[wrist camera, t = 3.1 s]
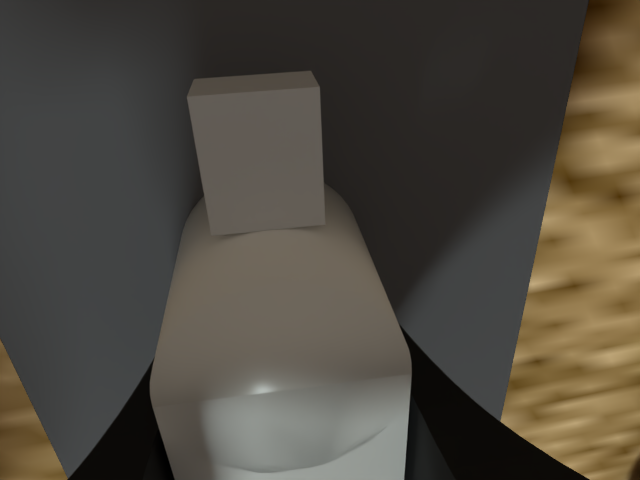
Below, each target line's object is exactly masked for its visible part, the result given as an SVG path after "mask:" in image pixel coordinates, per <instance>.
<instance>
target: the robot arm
mask: <svg viewBox="0 0 640 480" xmlns="http://www.w3.org/2000/svg"><path fill="white" fill-rule="evenodd" d="M398 324H399V323H398ZM399 326H400V329H401V331H402V333H403V336H404V338H405V341H406V343H407V346H408V348H409V352H410V357H411V363H412V376H411V390H410V404H409V418H408V432H407V446H406V460H405V474H404V480H589V479H588V478H586V477H584V476H583V475H581V474H579V473H577V472H576V471H574V470H572V469H570V468H569V467H567V466H565V465H563V464H562V463H560V462H559V461H557V460H555V459H554V458H552V457H551V456H549V455H548V454H546V453H545V452H543V451H542V450H540V449H539V448H537V447H535V446H534V445H532V444H531V443H529V442H528V441H526V440H525V439H523V438H522V437H520V436H519V435H518V434H516V433H515V432H513V431H512V430H511V429H509V428H508V427H507V426H505V425H504V424H503V423H501V422H500V421H499V420H497V419H496V418H495V417H494V416H492V415H491V414H490V413H489V412H487V411H486V410H485V409H484V408H482V407H481V406H480V405H479V404H478V403H477V402H475V401H474V400H473V399H472V398H471V397H470V396H469V395H467V394H466V393H465V392H464V391H463V390H462V389H461V388H460V387H459V386H457V385H456V384H455V383H454V382H453V381H452V380H451V379H450V378H449V377H448V376H447V375H446V374H445V373H444V372H443V371H442V370H441V369H440V368H439V367H438V366H437V365H436V364H435V363H434V362H433V361H432V360H431V359H430V358H429V357H428V356H427V355H426V354H425V352H424V351H423V350H422V349H421V348H420V347H419V346H418V345H417V344H416V343H415V341H414V340H413V339H412V338H411V337H410V336H409V335H408V333H407V332H406V331H405V330H404V329H403V328H402V326H401V325H400V324H399ZM154 358H155V357H154ZM153 362H154V359H153V361H152V362H151V364H150V366H149V367H148V369H147V371H146V372H145V374H144V376H143V377H142V379H141V381H140V382H139V384H138V385H137V387H136V389H135V390H134V392H133V393H132V395H131V396H130V398H129V399H128V401H127V402H126V404H125V405H124V407H123V408H122V410H121V411H120V413H119V414H118V416H117V417H116V418H115V420H114V421H113V422H112V424H111V425H110V427H109V428H108V429H107V431H106V432H105V433H104V435H103V436H102V437H101V439H100V440H99V441H98V443H97V444H96V445H95V447H94V448H93V449H92V451H91V452H90V453H89V454H88V456H87V457H86V458H85V459H84V461H83V462H82V463H81V464H80V465H79V467H78V468H77V469H76V470H75V471H74V472H73V474H72V475H71V476H70V477H69V478H68V479H67V480H175V479H174V476H173V472H172V469H171V466H170V463H169V459H168V456H167V453H166V450H165V446H164V443H163V440H162V437H161V433H160V430H159V427H158V424H157V420H156V417H155V414H154V411H153V407H152V402H151V398H150V378H151V372H152V367H153Z"/></svg>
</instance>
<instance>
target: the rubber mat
mask: <svg viewBox="0 0 640 480" xmlns="http://www.w3.org/2000/svg"><path fill="white" fill-rule="evenodd" d="M588 2H589V0H0V339H1V341H2V343H3V345H4V347H5V349H6V351H7V353H8V355H9V357H10V359H11V361H12V363H13V366H14V368H15V370H16V372H17V374H18V376H19V378H20V380H21V382H22V384H23V386H24V388H25V390H26V392H27V395H28V397H29V399H30V401H31V403H32V405H33V407H34V409H35V411H36V413H37V415H38V417H39V419H40V421H41V424H42V426H43V428H44V430H45V432H46V434H47V436H48V438H49V440H50V442H51V444H52V446H53V448H54V450H55V453H56V455H57V457H58V459H59V461H60V463H61V465H62V467H63V469H64V471H65V473H66V475H67V477H68V478H69V477H70V476H71V475H72V474H73V472H74V471H75V470H76V469H77V468H78V467H79V465H80V464H81V463H82V462H83V461H84V459H85V458H86V457H87V456H88V454H89V453H90V452H91V451H92V449H93V448H94V447H95V445H96V444H97V443H98V441H99V440H100V439H101V437H102V436H103V435H104V433H105V432H106V431H107V429H108V428H109V427H110V425H111V424H112V422H113V421H114V420H115V418H116V417H117V416H118V414H119V413H120V411H121V410H122V408H123V407H124V405H125V404H126V402H127V401H128V399H129V398H130V396H131V395H132V393H133V392H134V390H135V389H136V387H137V385H138V384H139V382H140V381H141V379H142V377H143V376H144V374H145V372H146V371H147V369H148V367H149V366H150V364H151V362H152V361H153V359H154V357H155V353H156V349H157V344H158V340H159V335H160V331H161V326H162V322H163V317H164V313H165V308H166V304H167V299H168V295H169V290H170V286H171V281H172V277H173V272H174V268H175V263H176V259H177V254H178V250H179V245H180V241H181V236H182V232H183V229H184V226H185V223H186V220H187V218H188V216H189V214H190V213H191V211H192V209H193V208H194V207H195V205H196V204H197V203H198V201H199V200H200V199H201V198H202V197H203V196H204V191H203V185H202V180H201V174H200V168H199V163H198V157H197V151H196V146H195V140H194V134H193V129H192V123H191V117H190V112H189V106H188V100H187V95H188V93H189V90H190V88H191V85H192V83H193V80H194V79H200V78H214V77H229V76H243V75H257V74H271V73H285V72H299V71H311V72H312V74H313V76H314V77H315V79H316V81H317V83H318V85H319V86H320V105H321V129H322V154H323V178H324V183H325V184H327V185H328V186H329V187H331V188H332V189H333V190H335V191H336V192H337V193H338V194H339V195H340V196H341V197H342V198H343V200H344V201H345V202H346V203H347V205H348V206H349V208H350V209H351V211H352V213H353V215H354V217H355V220H356V222H357V224H358V227H359V229H360V232H361V234H362V237H363V239H364V241H365V244H366V246H367V249H368V251H369V254H370V256H371V258H372V261H373V263H374V266H375V268H376V270H377V273H378V275H379V278H380V280H381V283H382V285H383V287H384V290H385V292H386V295H387V297H388V300H389V302H390V304H391V307H392V309H393V312H394V314H395V316H396V319H397V321H398V323H399V324H400V325H401V326H402V328H403V329H404V330H405V331H406V332H407V333H408V335H409V336H410V337H411V338H412V339H413V340H414V341H415V343H416V344H417V345H418V346H419V347H420V348H421V349H422V350H423V351H424V352H425V354H426V355H427V356H428V357H429V358H430V359H431V360H432V361H433V362H434V363H435V364H436V365H437V366H438V367H439V368H440V369H441V370H442V371H443V372H444V373H445V374H446V375H447V376H448V377H449V378H450V379H451V380H452V381H453V382H454V383H455V384H456V385H457V386H459V387H460V388H461V389H462V390H463V391H464V392H465V393H466V394H467V395H469V396H470V397H471V398H472V399H473V400H474V401H475V402H477V403H478V404H479V405H480V406H481V407H482V408H484V409H485V410H486V411H487V412H489V413H490V414H491V415H492V416H494V417H495V418H496V419H497V420H499V421H500V420H501V415H502V410H503V406H504V401H505V396H506V391H507V387H508V382H509V377H510V372H511V368H512V363H513V358H514V353H515V349H516V344H517V339H518V334H519V330H520V325H521V320H522V315H523V311H524V306H525V301H526V296H527V292H528V287H529V282H530V277H531V273H532V268H533V263H534V258H535V254H536V249H537V244H538V239H539V235H540V230H541V225H542V220H543V216H544V211H545V206H546V201H547V197H548V192H549V187H550V182H551V178H552V173H553V168H554V163H555V159H556V154H557V149H558V144H559V140H560V135H561V130H562V125H563V121H564V116H565V111H566V106H567V102H568V97H569V92H570V87H571V83H572V78H573V73H574V68H575V64H576V59H577V54H578V49H579V45H580V40H581V35H582V30H583V26H584V21H585V16H586V11H587V7H588Z"/></svg>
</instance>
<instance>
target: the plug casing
mask: <svg viewBox="0 0 640 480" xmlns="http://www.w3.org/2000/svg"><path fill="white" fill-rule="evenodd" d="M187 100H188V106H189V112H190V117H191V123H192V129H193V134H194V140H195V146H196V151H197V157H198V163H199V168H200V174H201V180H202V185H203V191H204V196H203V197H202V198H201V199H200V200H199V201H198V203H197V204H196V205H195V207H194V208H193V209H192V211H191V213H190V214H189V216H188V218H187V220H186V223H185V226H184V229H183V232H182V236H181V241H180V245H179V250H178V254H177V259H176V263H175V268H174V272H173V277H172V281H171V286H170V290H169V295H168V299H167V304H166V308H165V313H164V317H163V322H162V326H161V331H160V335H159V340H158V344H157V349H156V353H155V358H154V362H153V367H152V372H151V378H150V398H151V402H152V407H153V411H154V414H155V417H156V420H157V424H158V427H159V430H160V433H161V437H162V440H163V443H164V446H165V450H166V453H167V456H168V459H169V463H170V466H171V469H172V472H173V476H174V479H175V480H404V474H405V460H406V446H407V432H408V418H409V404H410V390H411V376H412V363H411V357H410V352H409V348H408V346H407V343H406V341H405V338H404V336H403V333H402V331H401V329H400V326H399V324H398V321H397V319H396V316H395V314H394V312H393V309H392V307H391V304H390V302H389V300H388V297H387V295H386V292H385V290H384V287H383V285H382V283H381V280H380V278H379V275H378V273H377V270H376V268H375V266H374V263H373V261H372V258H371V256H370V254H369V251H368V249H367V246H366V244H365V241H364V239H363V237H362V234H361V232H360V229H359V227H358V224H357V222H356V220H355V217H354V215H353V213H352V211H351V209H350V208H349V206H348V205H347V203H346V202H345V201H344V200H343V198H342V197H341V196H340V195H339V194H338V193H337V192H336V191H335V190H333V189H332V188H331V187H329V186H328V185H327V184H325V183H324V178H323V154H322V129H321V105H320V86H319V85H318V83H317V81H316V79H315V77H314V76H313V74H312V72H311V71H299V72H285V73H271V74H257V75H243V76H229V77H214V78H200V79H194V80H193V83H192V85H191V88H190V90H189V93H188V95H187Z"/></svg>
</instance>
